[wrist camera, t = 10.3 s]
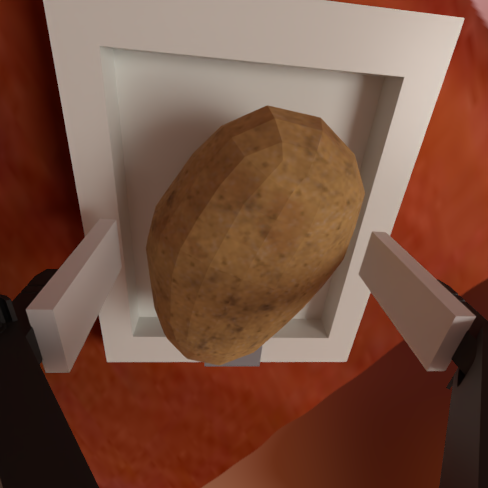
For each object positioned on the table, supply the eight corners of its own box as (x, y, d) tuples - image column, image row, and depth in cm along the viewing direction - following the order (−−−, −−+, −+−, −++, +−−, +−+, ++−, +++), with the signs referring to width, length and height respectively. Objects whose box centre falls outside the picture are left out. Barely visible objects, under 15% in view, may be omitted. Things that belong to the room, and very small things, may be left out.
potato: (133, 276, 21) (92, 374, 14) (210, 62, 16) (203, 52, 9) (259, 315, 24) (276, 414, 17) (364, 144, 18) (456, 187, 11)
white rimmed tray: (64, -19, 14) (28, -42, 11) (431, 25, 16) (474, 15, 13) (116, 336, 24) (104, 368, 22) (335, 338, 26) (349, 368, 24)
